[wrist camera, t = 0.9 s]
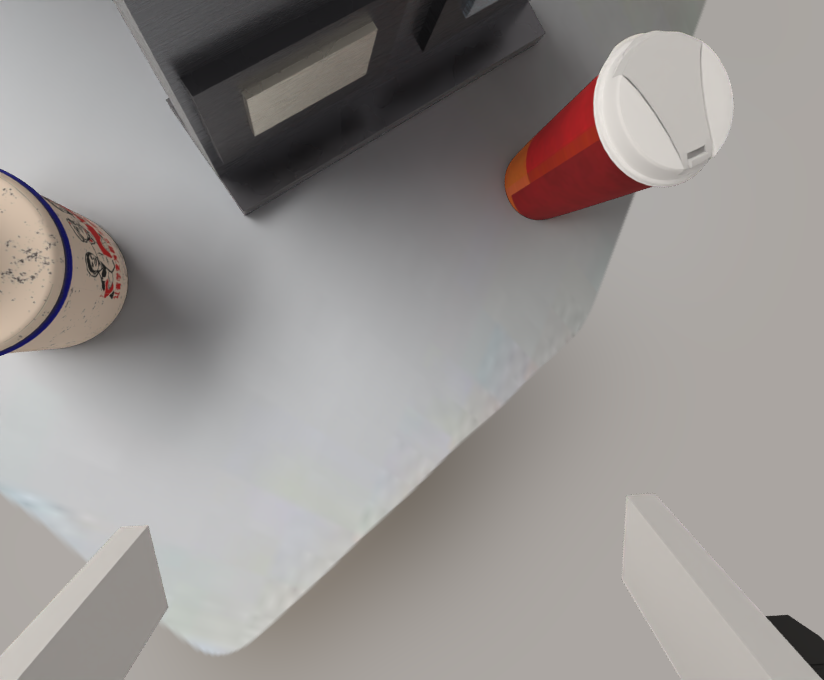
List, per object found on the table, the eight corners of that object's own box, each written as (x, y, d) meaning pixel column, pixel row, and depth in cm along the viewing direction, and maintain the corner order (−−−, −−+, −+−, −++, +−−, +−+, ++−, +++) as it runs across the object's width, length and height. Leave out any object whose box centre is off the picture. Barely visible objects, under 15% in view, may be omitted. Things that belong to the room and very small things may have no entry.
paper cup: (594, 211, 38) (761, 146, 24) (515, 249, 36) (646, 203, 22) (557, 118, 36) (710, -4, 23) (474, 154, 35) (585, 44, 21)
